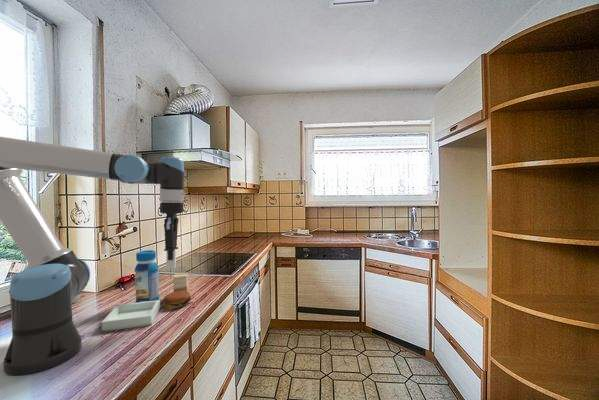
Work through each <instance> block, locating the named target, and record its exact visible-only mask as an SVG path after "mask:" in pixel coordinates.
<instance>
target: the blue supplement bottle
mask: <svg viewBox="0 0 599 400" xmlns="http://www.w3.org/2000/svg"><path fill="white" fill-rule="evenodd" d="M135 256H136V257H135V260H136V262H137V264H136V265H135V268H134V272H135V275H134V283H135V303H138V302H147V301H155V300H160V294H159V293H160V291H159V290H160V288H159V287H160V286H159V276H160V272H159V271H158V270H159V265H158V263H157V262H156V261H155V260H156V259H157V252H156V250H154V249H149V250H141V251H138V252H136V253H135Z"/></svg>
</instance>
